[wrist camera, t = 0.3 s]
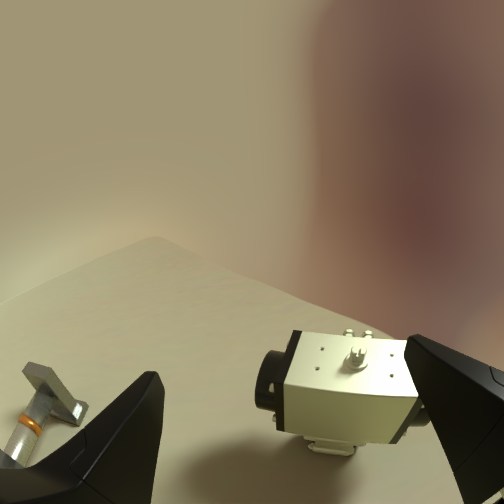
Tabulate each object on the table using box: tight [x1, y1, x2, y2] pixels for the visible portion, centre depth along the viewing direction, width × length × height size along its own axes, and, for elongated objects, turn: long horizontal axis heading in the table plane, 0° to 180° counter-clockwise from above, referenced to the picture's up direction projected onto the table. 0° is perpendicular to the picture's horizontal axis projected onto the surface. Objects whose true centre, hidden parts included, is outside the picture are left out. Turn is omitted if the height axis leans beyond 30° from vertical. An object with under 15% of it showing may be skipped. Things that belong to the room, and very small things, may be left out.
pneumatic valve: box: [255, 329, 430, 456], centre depth 17 cm, size 6×12×12 cm, turn 69°
